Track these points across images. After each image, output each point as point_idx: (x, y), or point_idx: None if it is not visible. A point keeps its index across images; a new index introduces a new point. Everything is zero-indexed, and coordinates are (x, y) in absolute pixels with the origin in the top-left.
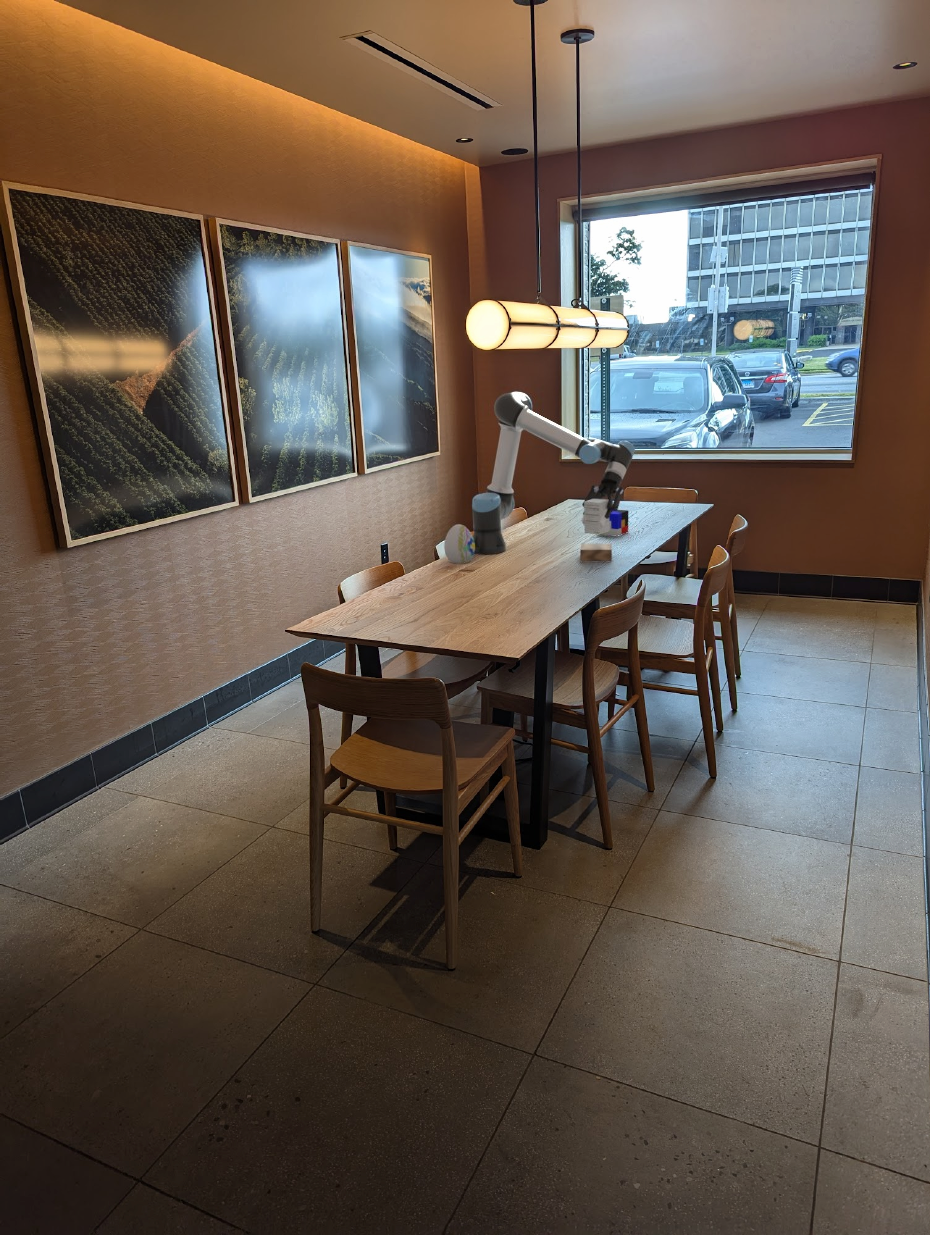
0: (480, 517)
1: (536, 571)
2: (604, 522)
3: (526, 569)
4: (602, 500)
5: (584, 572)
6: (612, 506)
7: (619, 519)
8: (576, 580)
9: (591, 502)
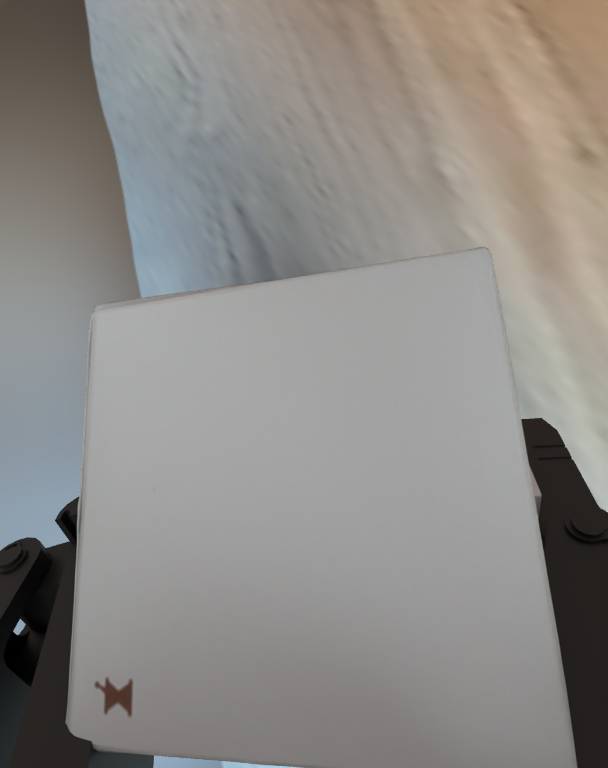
0: None
1: (458, 74)
2: None
3: (533, 65)
4: (139, 542)
5: (254, 200)
6: (32, 560)
7: None
8: (211, 93)
9: (283, 280)
